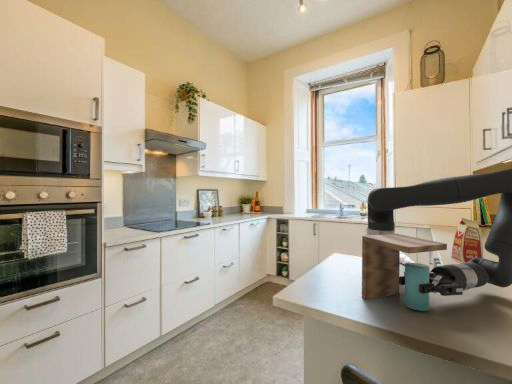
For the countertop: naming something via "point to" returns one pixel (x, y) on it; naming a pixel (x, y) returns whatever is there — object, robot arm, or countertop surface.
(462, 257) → the milk carton
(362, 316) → the countertop surface
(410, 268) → the teal rounded cylinder
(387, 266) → the shelf
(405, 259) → the unicorn horn
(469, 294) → the countertop surface
